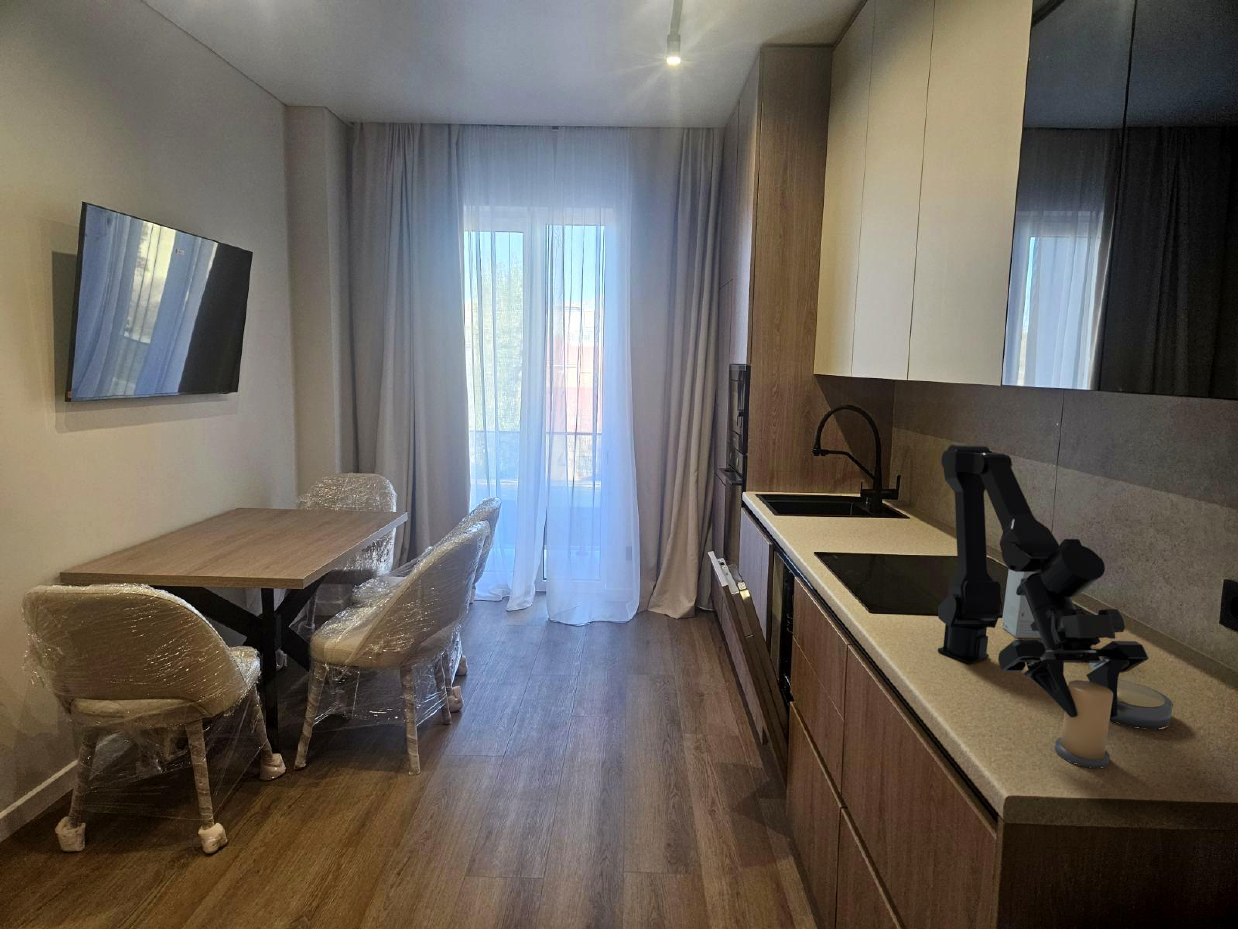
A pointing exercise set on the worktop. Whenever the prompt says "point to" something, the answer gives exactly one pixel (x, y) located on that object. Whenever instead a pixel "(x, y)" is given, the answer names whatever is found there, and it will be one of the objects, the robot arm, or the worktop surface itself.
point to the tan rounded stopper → (1086, 725)
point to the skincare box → (1017, 608)
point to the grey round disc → (1141, 706)
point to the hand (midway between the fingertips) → (1094, 717)
